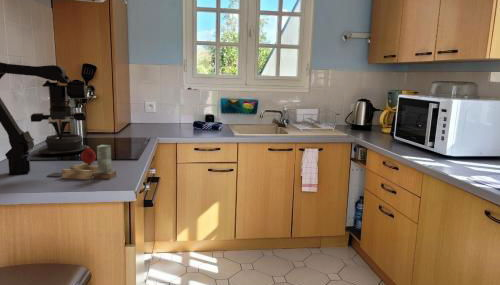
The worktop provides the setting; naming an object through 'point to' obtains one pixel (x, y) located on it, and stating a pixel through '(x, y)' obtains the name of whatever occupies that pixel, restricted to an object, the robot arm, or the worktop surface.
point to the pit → (55, 175)
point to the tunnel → (79, 171)
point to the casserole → (63, 144)
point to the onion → (88, 156)
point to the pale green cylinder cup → (104, 163)
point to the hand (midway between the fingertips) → (60, 139)
